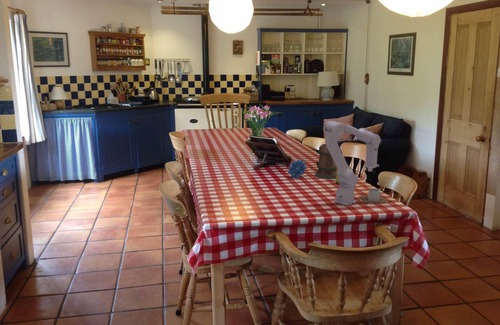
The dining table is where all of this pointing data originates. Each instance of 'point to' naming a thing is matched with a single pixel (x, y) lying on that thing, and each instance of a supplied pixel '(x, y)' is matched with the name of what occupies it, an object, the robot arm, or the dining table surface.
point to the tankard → (325, 164)
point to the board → (381, 200)
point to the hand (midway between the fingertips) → (369, 181)
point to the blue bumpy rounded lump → (297, 168)
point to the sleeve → (374, 194)
